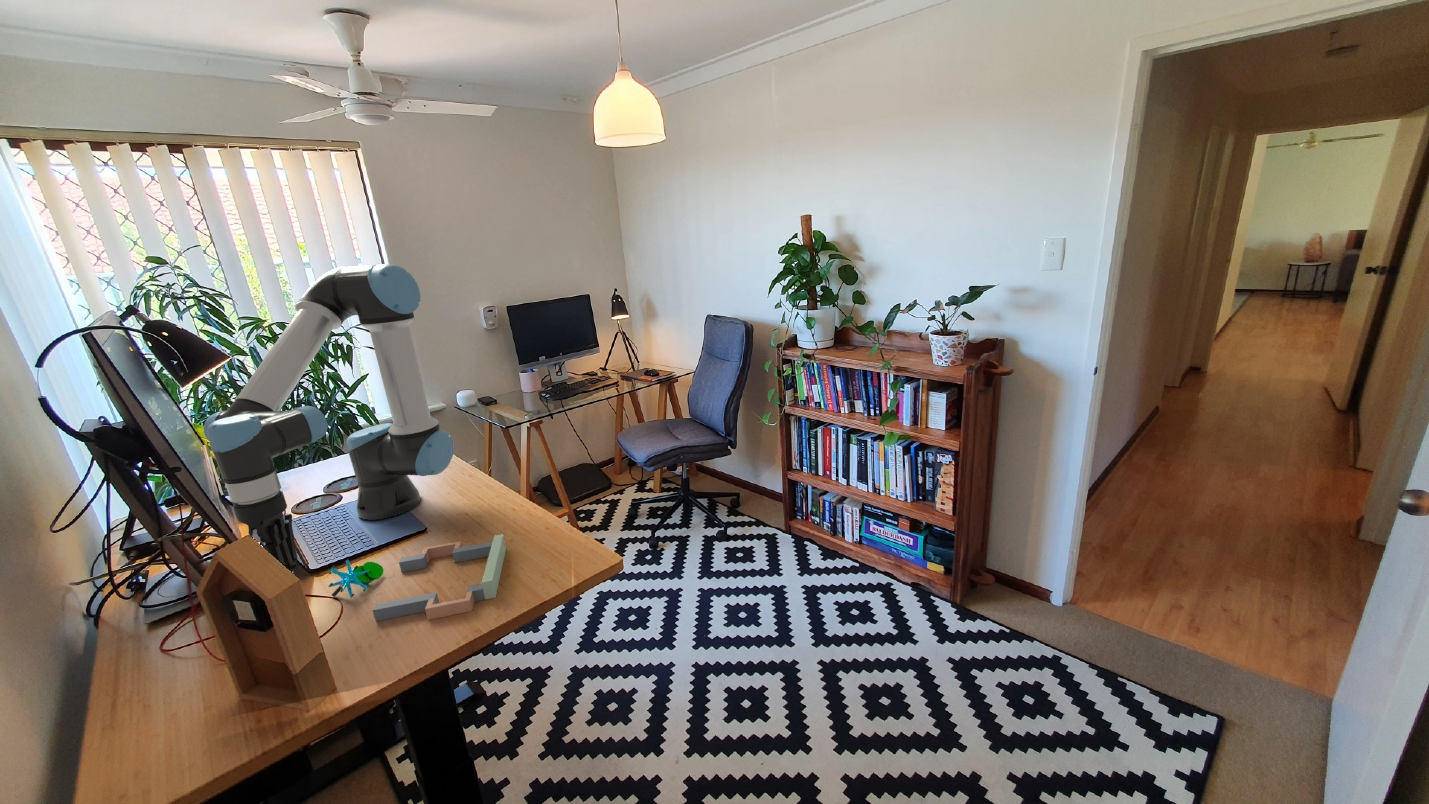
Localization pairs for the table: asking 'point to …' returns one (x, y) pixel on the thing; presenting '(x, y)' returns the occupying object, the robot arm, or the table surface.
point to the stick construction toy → (356, 576)
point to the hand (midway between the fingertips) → (292, 602)
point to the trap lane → (430, 601)
